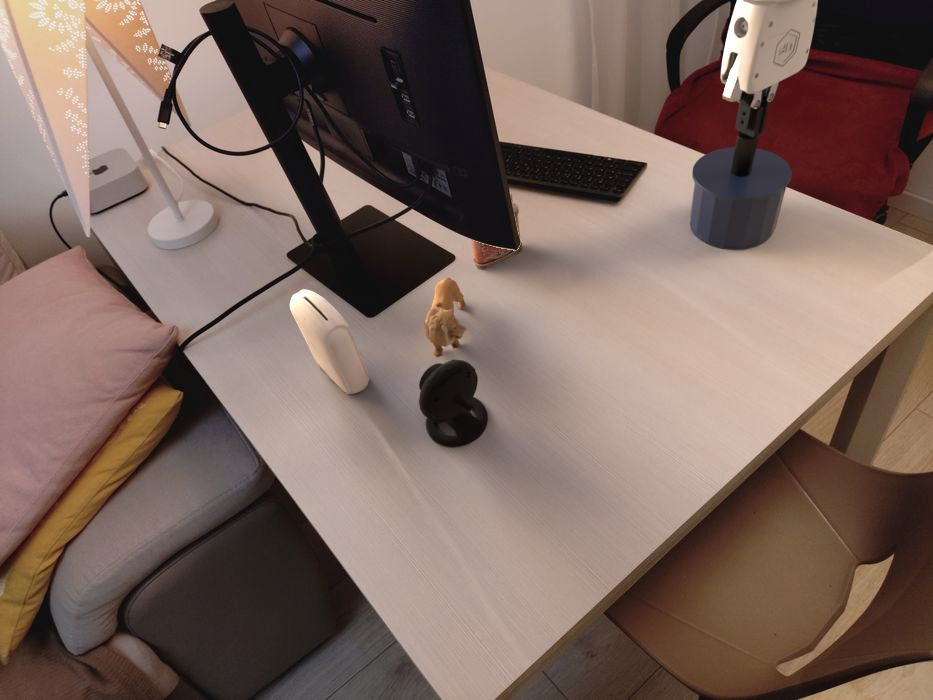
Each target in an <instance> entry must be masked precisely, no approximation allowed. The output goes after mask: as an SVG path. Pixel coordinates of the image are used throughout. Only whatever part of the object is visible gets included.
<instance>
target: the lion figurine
mask: <svg viewBox="0 0 933 700" xmlns="http://www.w3.org/2000/svg"><path fill="white" fill-rule="evenodd" d="M454 302H457V308H458V309H459V310H464V309H466V307H467V304H466V301H465V299H464V295H463V293H462V292H461V289H460V287H459V285H458V283H457V281H456V280H454V279H452V278H450V277H445V278H443V279H441V280H439V282H438V283H437V284H436V285H435V288H434V296H433V301H432V304H431V308H430V310H428V312H427V315H426V316H425V318H424V323H423V325H424V333H425V336H426V338H427V340H428V341H429V342H430V343H431V344H432V345H433V346H434V350H433V352H432V353H433V355H434V356H435V357H440V356H442V355H443V352H444V351H443V350H444V348H443V347H445V348H446V347H448V346H450V345H451V347H452V349H453V350H455V349H460V346H461V343H460V341H459V340H462V339H463V336H464V334H465V332H466V331H467V327H466V326H464V325H462V324H460V323H459V322H458V318H456V316H455V305H454Z"/></svg>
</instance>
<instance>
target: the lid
mask: <svg viewBox="0 0 933 700" xmlns="http://www.w3.org/2000/svg"><path fill="white" fill-rule="evenodd" d="M759 137H760V134H757V135H756V136H754V137H751V136H749V135H746V134H744V133H742V132H740V131H738V132H737V136H736V141H735V146H731V147H725V148H720V149H715V150H713V151H710V152H707V153H705V154H704V155H702V156H701V157H700V158H699V159H697V161H696V162H695V163H694V165H693V167H692V172H691V175H692V176H691V177H692V179H693V182H694V184H695V183H696V185H697V186H698V187H699V188H700V189H702V190H703V191H705V192H706V193H708V194H710V195H713V196H715V197H718V198H722V199H727V200H733V201H754V200H761V199H765V198H769V197H771V196H774V195H776V194H778V193H780V192H781V191H783V190H784V189H785V188H786V189H787V187H788V186H789V184H790V183H791V180H792V175H793V173H792V168H791V166H790V164H789V163H788V162H787V161H786V160H785V159H783V158H782V157H781V156H779V155H778V154H776V153H774V152H771V151H769V150H766V149H761V148H757V147H758V142H759Z"/></svg>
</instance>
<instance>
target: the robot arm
mask: <svg viewBox="0 0 933 700" xmlns="http://www.w3.org/2000/svg"><path fill="white" fill-rule="evenodd" d="M818 3H819V0H736V3H735V5H734V9H733V11H732V15H731V19H730V23H729V26H728V30H727V35H726V39H725V45H724V48H723V55H722V59H721V60H722V61H721V67H720V81H721V83H722V84H723V85H725V87H724V90H723V93H722V96H721V97H722V99H723V100H725V101H727V102H730V103H735V102H737V103H738V109H737V114H736V119H735V125H734V129H735V131H738V132H742V133H744V134H746V135H749V136H751V137H754V136H756V135H757V134H759V135H760V134H762V133H763V132H764V130H765V127H766V122H767V117H768V113H769V109H770V108H769V107H770V103H771V102H772V101H773V100H774V99H775V96H776V92H777V89H778V87H779V85H780V84H781V82H782V81H783V80H786V79H787V78H789V77H792V76H793V75H795V74H797V73H799V72H800V71H801V70H803V68H805V66H806V64H807V62H808V59H809V54H810V49H811V45H812V41H813V35H814V30H815V24H816V17H817V13H818Z"/></svg>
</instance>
